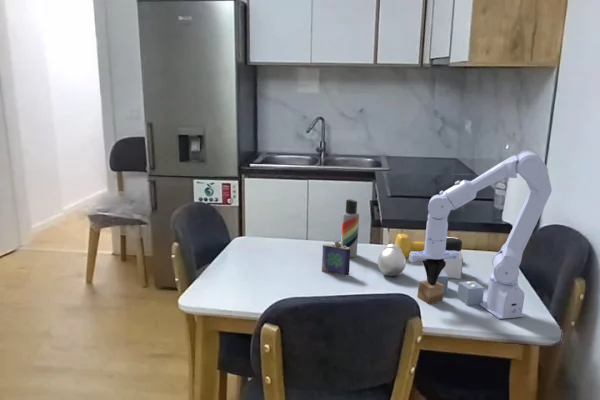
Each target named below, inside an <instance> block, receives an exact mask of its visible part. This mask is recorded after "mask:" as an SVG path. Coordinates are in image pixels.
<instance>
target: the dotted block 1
mask: <svg viewBox="0 0 600 400" xmlns="http://www.w3.org/2000/svg"><path fill="white" fill-rule="evenodd" d="M449 279H450V278H449V276H448V275H447V274H446V272H445V271H444V270H442V271H441V272H440V274H439V276H438V279H437V282H439V283H441V284H442V285H444V293H448V284H449Z"/></svg>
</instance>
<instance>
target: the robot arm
mask: <svg viewBox="0 0 600 400" xmlns="http://www.w3.org/2000/svg"><path fill="white" fill-rule="evenodd" d="M517 174H518V175H519V176H520V177H521V178H522V179H523V180H524V181H525V183H526V185H527V187H528V189H529V191H528V194H527V195H526V197H525V200H524V202H523V204H522V207H521V208H520V210H519V213H518V215H517V217H516V219H515V222H514V223H513V226H512V229H511V230H510V233H509V235H508V237H507V240H506V242H505V243H503V245H502V246H501V247H500V250H499V251H498V252H496V253H495V254H494V255H493V257H492V259H491V263H492V264H491V265H492V267H493V272H492V273H491V274H490V275H489V280H488V288H487V295H486V296H487V297H486V302H485V301H484V302H482V303H480V304H479V305H480V306H481V307H483V309H485V310H486V311H488V313H490V314H492V315H493V316H494V317H496V318H497V319H499V320H503V319H504V320H505V319H512V318H522V317H525V314H524V313H523V310H524V309H523V308H524V303H525V302H524V301H525V293H524V290H523V289H522V288H521V287H520V286H519V283H518V281H519V280H518V279H519V275H520V265H521V263H522V258H523V254H524V251H525V248H526V246H527V245H528V243H529V240H530V238H531V236H532V234H533V232H534V229H535V228H536V226H537V223H538V221H539V219H540V217H541V216H542V213H543V211H544V208H545V206H546V204H547V202H548V200H549V198H550V196H551V193H552V184H551V180H550V175H549V169H548V166H547V165H546V164H545V162H544V160H543V159H542V158H541V157H540V156H539V154H537V152H535V151H533V150H530V149H529V150H527V149H526V150H522V151H520V152H519V153H518V154H517V155H512V156H510V157H508V158H506V159H505V160H503V161H501V162H499V163H497V164H496V165H495V166H493V167H491V168H490V169H488V170H487V171H484V173H482V174H480V175H478V176H477V177H475V178H474V179H472V180H467V179H463V180H461V181H460V180H457V181H455V182H454V185H453V186H451V187H449V188H447V189H446V190H440V191H439V194H435V195H433V196H432V197H431V198H430V199H429V202H428V205H427V211H428V214H427V221H426V229H425V237H424V238H425V239H424V242H425V248H424V251H420V252H416V251H415V252H410V254H409V257H408V260H409V261H410V262H411V263H415V262H419V261H420V262H421V263H422V265H423V267H424V270H425V273H426V280H428V283H429V284H430V285H435V284H436V281H437V279H438V276H439V274H440V272H441V271H442V269H443V268H444V267H445V266H446V262H445V261H444V259H459V252H457V251H447V250H445V249H446V239H447V236H448V229H449V228H448V227H449V222H448V217H449V215H450V213H451V211H455V210H457V209H459V208H460V207H462V206H464V205H465V204H467V203H469V202H471V201H473V200H474V199H476V197H477V193H478V192H480V191H481V190H483V189H485V188H487V187H489V186H491V185H493V184H494V183H496V182H498V181H501V180H502V179H505V178H509V179H510V178H512V179H518V175H517Z"/></svg>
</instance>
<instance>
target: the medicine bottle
mask: <svg viewBox="0 0 600 400" xmlns="http://www.w3.org/2000/svg"><path fill="white" fill-rule="evenodd" d="M462 247H463V241H462V240H461V239H460V238H457V237H453V236H448V237H447V239H446V249H445V250H447V251H457V252H459V259H444V261H445V262H446V266H445V267H444V268H443V269H442V270H444V271H445V272H446V274H447V275H448V276H449V278H448V279H455V280H457V279H459V280H461V279H462V273H463V264H464V256H463V252H462Z"/></svg>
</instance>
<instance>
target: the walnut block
mask: <svg viewBox="0 0 600 400" xmlns="http://www.w3.org/2000/svg"><path fill="white" fill-rule="evenodd" d="M444 293H445V292H444V285H442V284H441V283H439V282H437V281H436V284H435V285H430V284H429V283H428V280H427V279H426V280H420V281H418V287H417V298H418V299H419V300H421V301H423V302H424V303H425V302H426V305H432V303H433V304H438V303H437V302H439V303H442V302H443V300H444Z"/></svg>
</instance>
